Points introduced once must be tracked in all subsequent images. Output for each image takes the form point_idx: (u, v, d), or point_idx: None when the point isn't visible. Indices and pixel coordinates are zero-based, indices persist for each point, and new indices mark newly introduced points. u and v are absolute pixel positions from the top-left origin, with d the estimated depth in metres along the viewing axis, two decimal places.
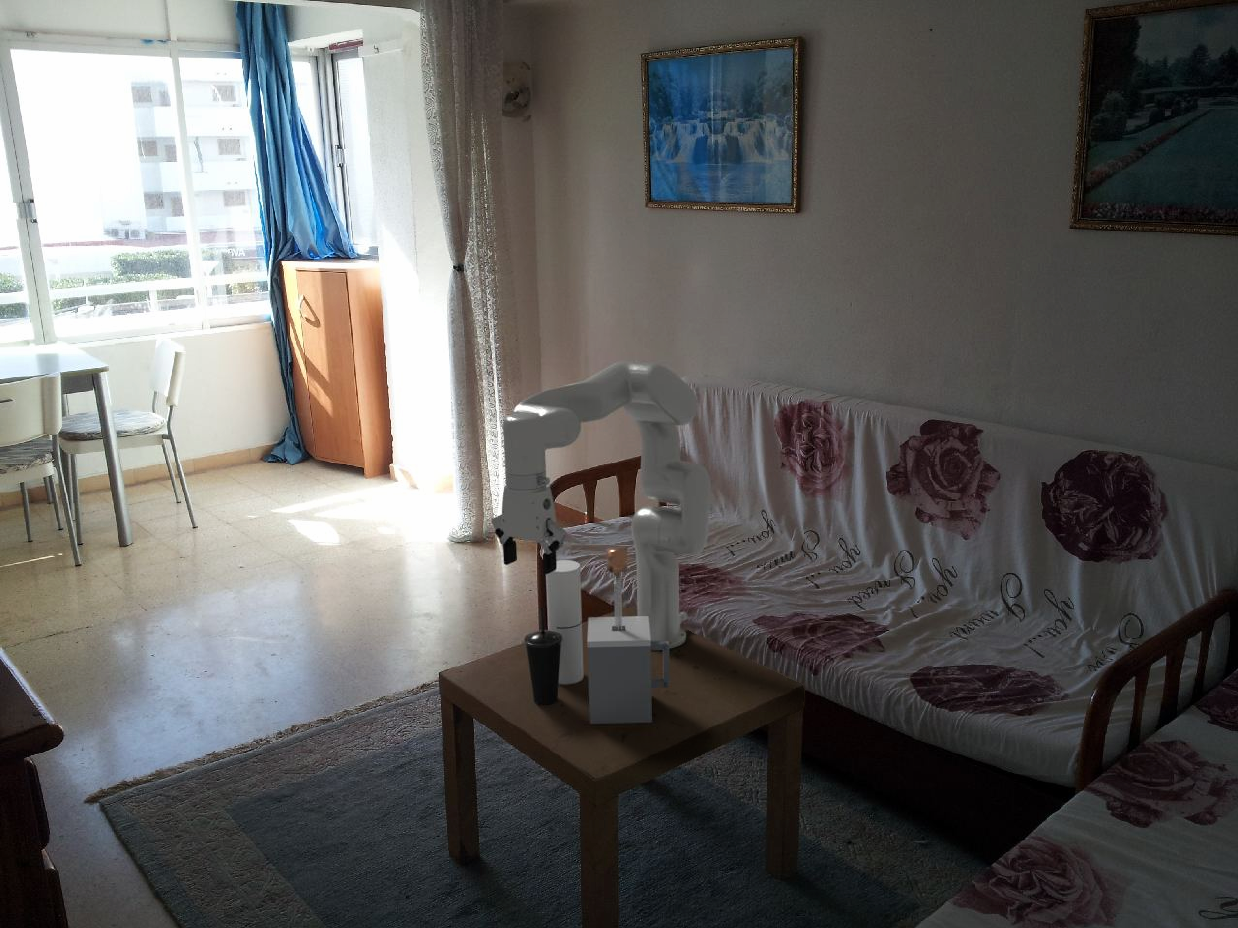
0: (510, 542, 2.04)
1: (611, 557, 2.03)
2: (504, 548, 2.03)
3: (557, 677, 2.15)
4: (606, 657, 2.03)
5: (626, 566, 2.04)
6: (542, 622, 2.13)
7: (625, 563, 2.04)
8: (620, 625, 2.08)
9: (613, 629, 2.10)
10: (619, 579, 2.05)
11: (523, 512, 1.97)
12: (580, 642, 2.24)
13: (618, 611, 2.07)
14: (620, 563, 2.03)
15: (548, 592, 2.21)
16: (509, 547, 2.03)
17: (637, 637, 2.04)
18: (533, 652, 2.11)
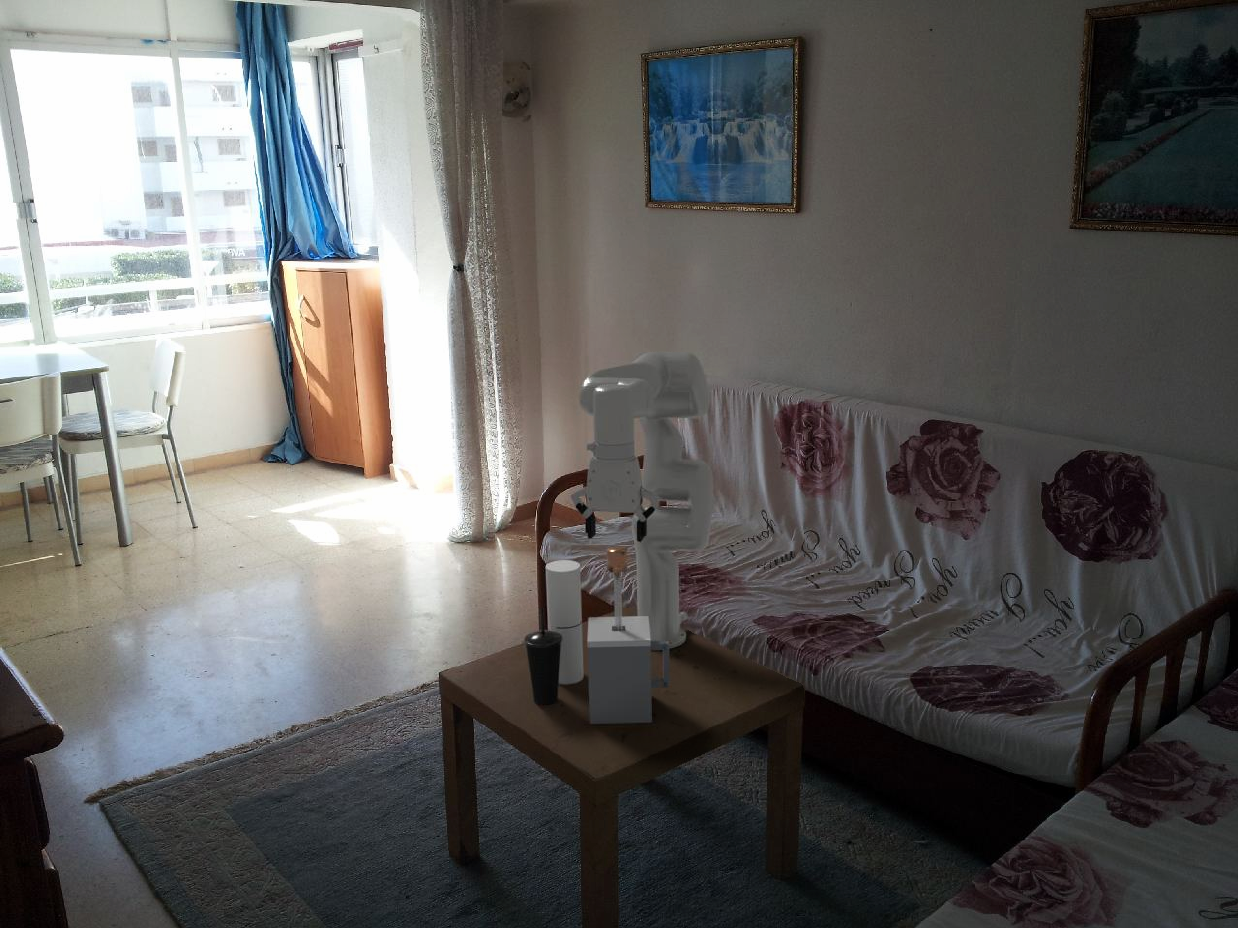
0: None
1: (611, 557, 2.03)
2: None
3: (557, 677, 2.15)
4: (606, 657, 2.03)
5: (626, 566, 2.04)
6: (542, 622, 2.13)
7: (625, 563, 2.04)
8: (620, 625, 2.08)
9: (613, 629, 2.10)
10: (619, 579, 2.05)
11: None
12: (580, 642, 2.24)
13: (618, 611, 2.07)
14: (620, 563, 2.03)
15: (548, 592, 2.21)
16: None
17: (637, 637, 2.04)
18: (533, 652, 2.11)
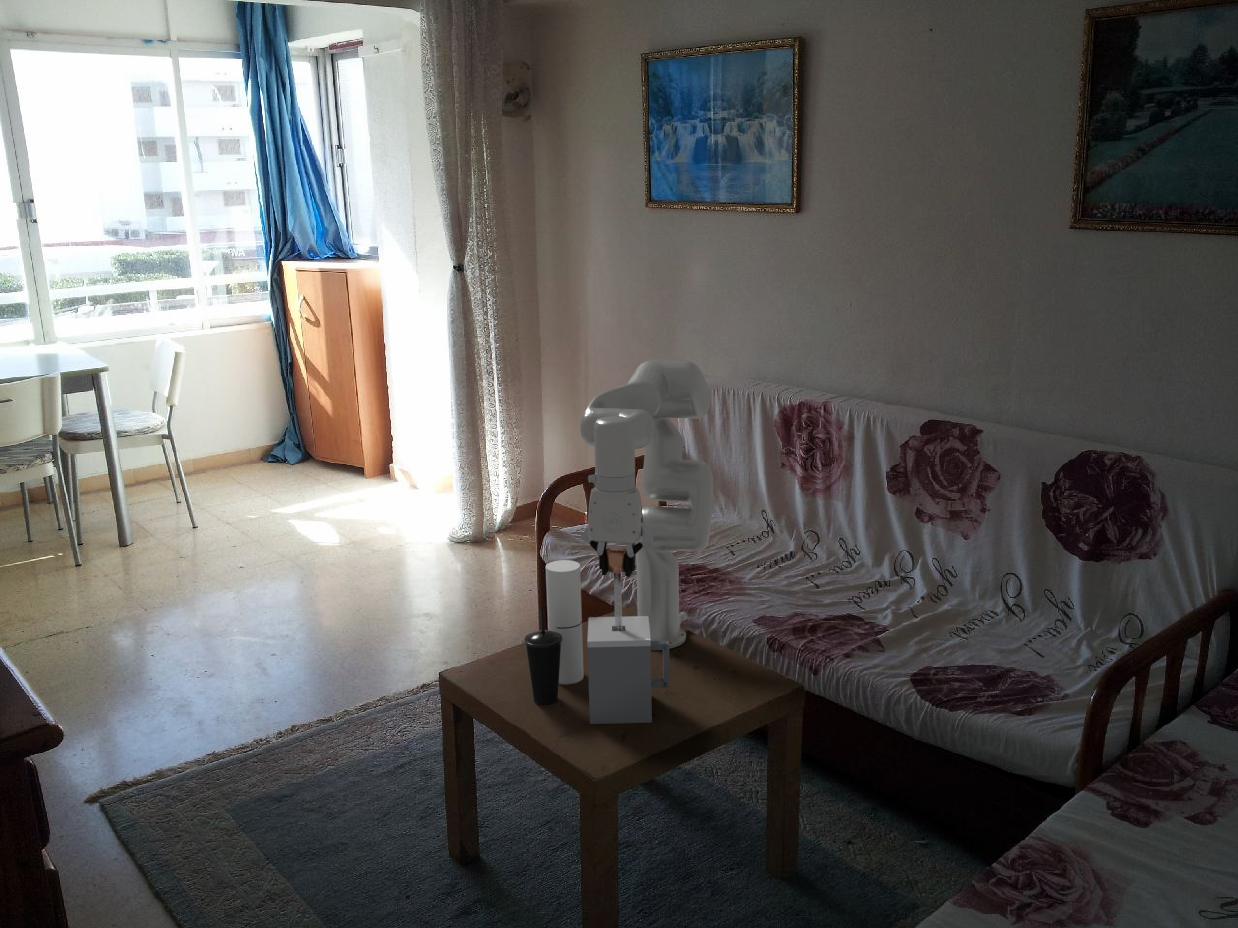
0: None
1: (611, 557, 2.03)
2: None
3: (557, 677, 2.15)
4: (606, 657, 2.03)
5: None
6: (542, 622, 2.13)
7: None
8: (620, 625, 2.08)
9: (613, 629, 2.10)
10: (619, 579, 2.05)
11: None
12: (580, 642, 2.24)
13: (618, 611, 2.07)
14: (620, 564, 2.03)
15: (548, 592, 2.21)
16: None
17: (637, 637, 2.04)
18: (533, 652, 2.11)
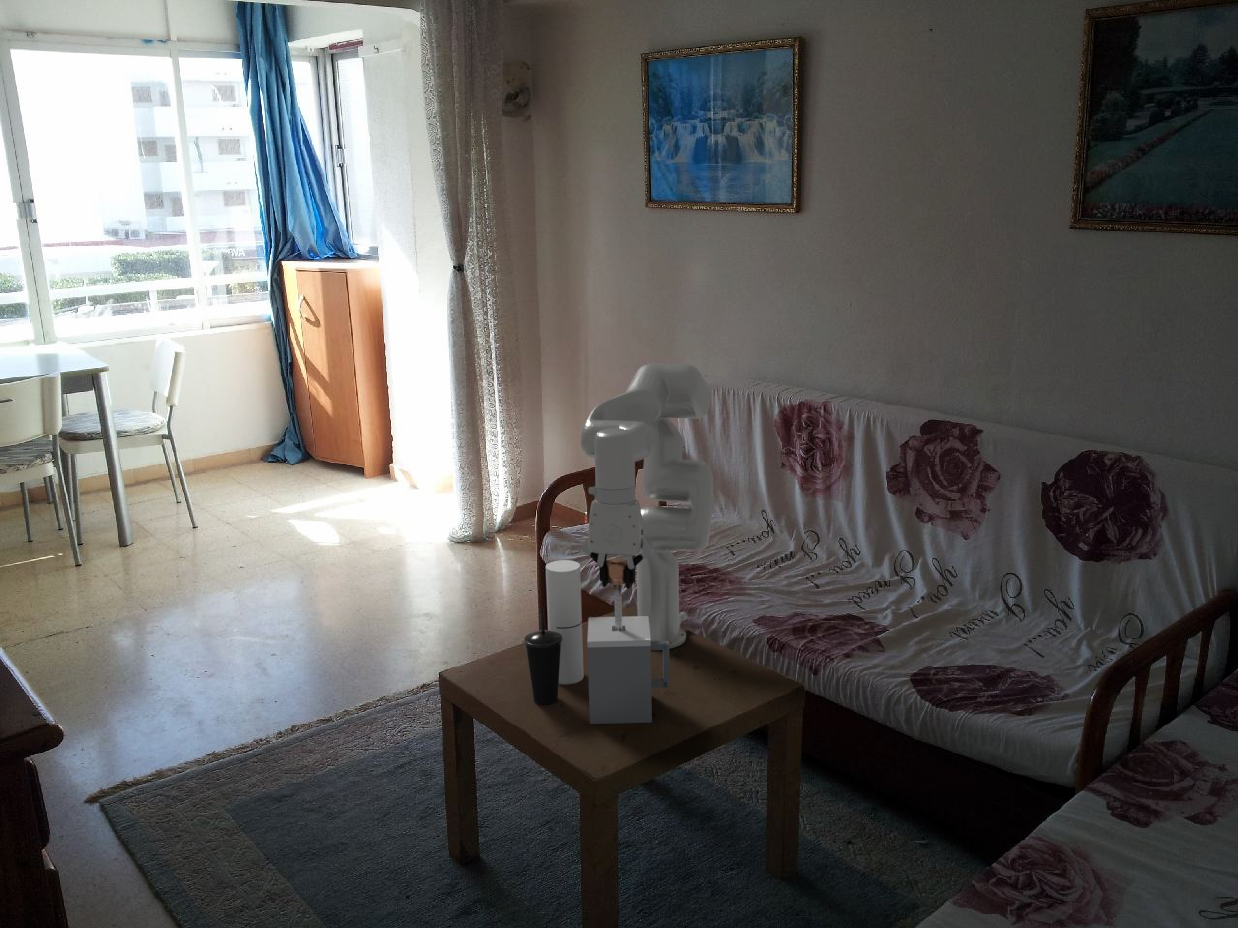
0: None
1: (611, 569, 2.04)
2: None
3: (557, 677, 2.15)
4: (606, 657, 2.03)
5: None
6: (542, 622, 2.13)
7: None
8: None
9: (613, 629, 2.10)
10: (619, 591, 2.06)
11: None
12: (580, 642, 2.24)
13: (619, 623, 2.07)
14: (620, 575, 2.04)
15: (548, 592, 2.21)
16: None
17: (637, 637, 2.04)
18: (533, 652, 2.11)
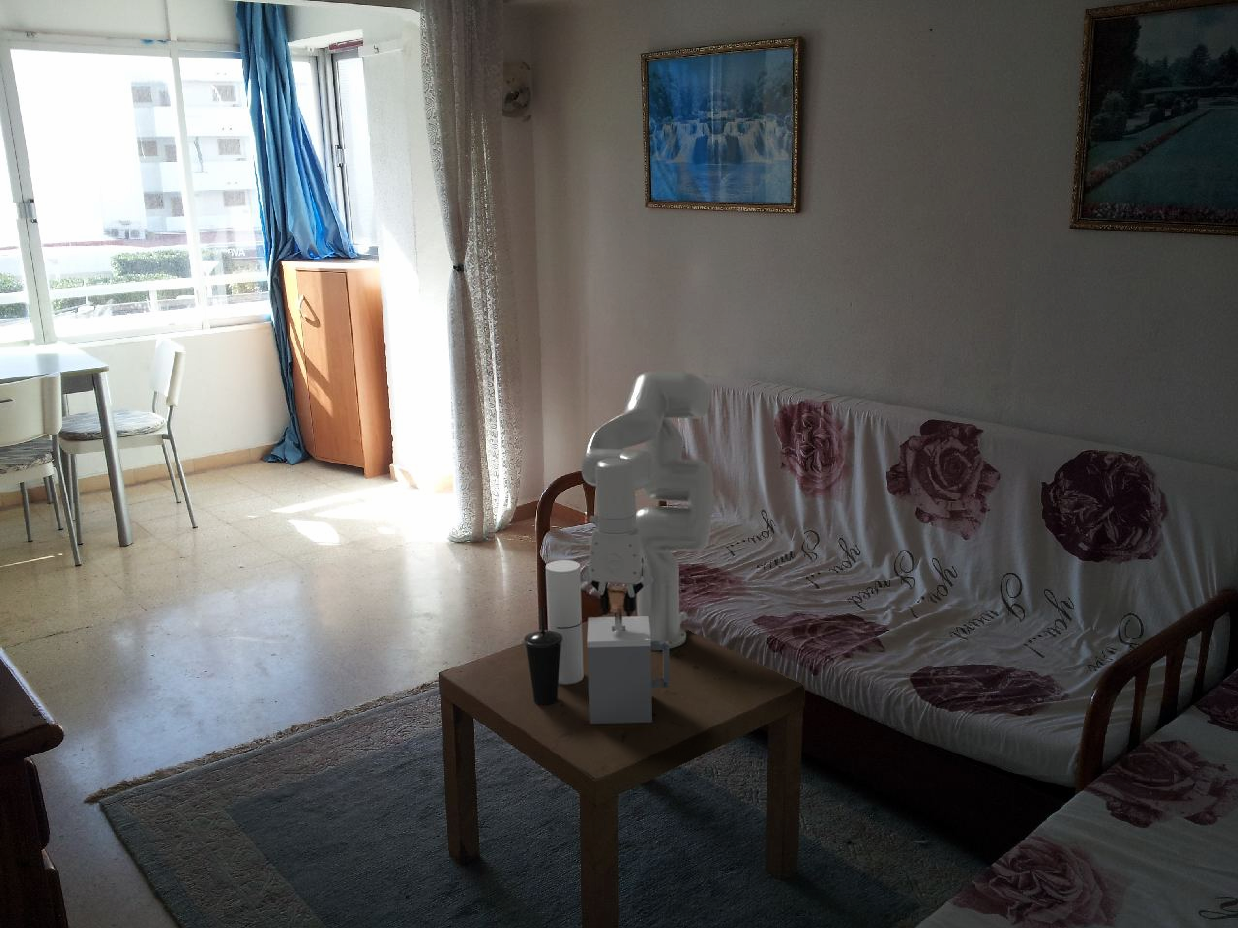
0: None
1: (612, 597, 2.05)
2: None
3: (557, 677, 2.15)
4: (606, 657, 2.03)
5: None
6: (542, 622, 2.13)
7: None
8: None
9: (613, 629, 2.10)
10: (620, 618, 2.07)
11: None
12: (580, 642, 2.24)
13: None
14: (621, 603, 2.05)
15: (548, 592, 2.21)
16: None
17: (637, 637, 2.04)
18: (533, 652, 2.11)
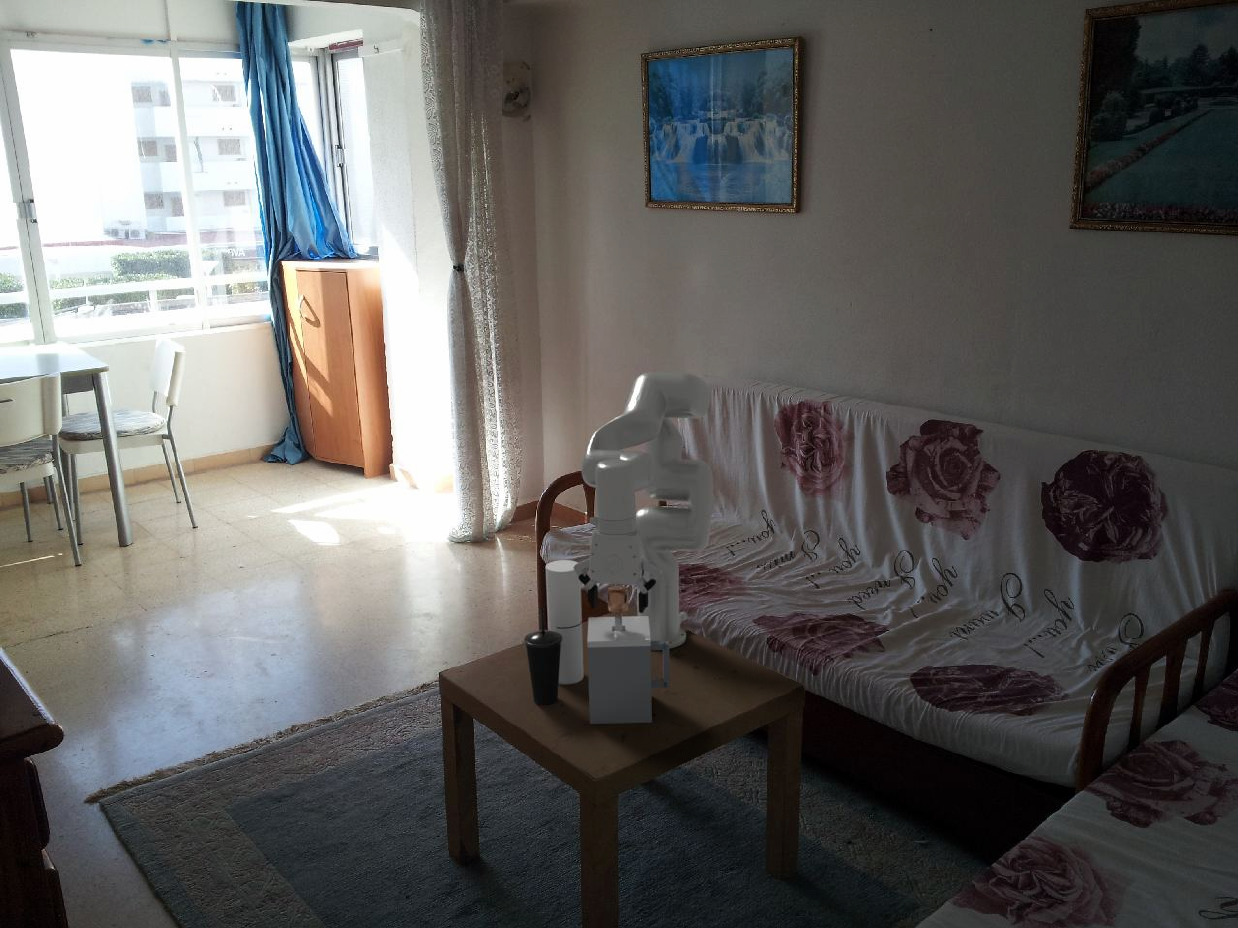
0: None
1: (612, 597, 2.05)
2: None
3: (557, 677, 2.15)
4: (606, 657, 2.03)
5: (627, 606, 2.06)
6: (542, 622, 2.13)
7: (626, 603, 2.06)
8: None
9: (613, 629, 2.10)
10: (620, 618, 2.07)
11: None
12: (580, 642, 2.24)
13: None
14: (621, 603, 2.05)
15: (548, 592, 2.21)
16: None
17: (637, 637, 2.04)
18: (533, 652, 2.11)
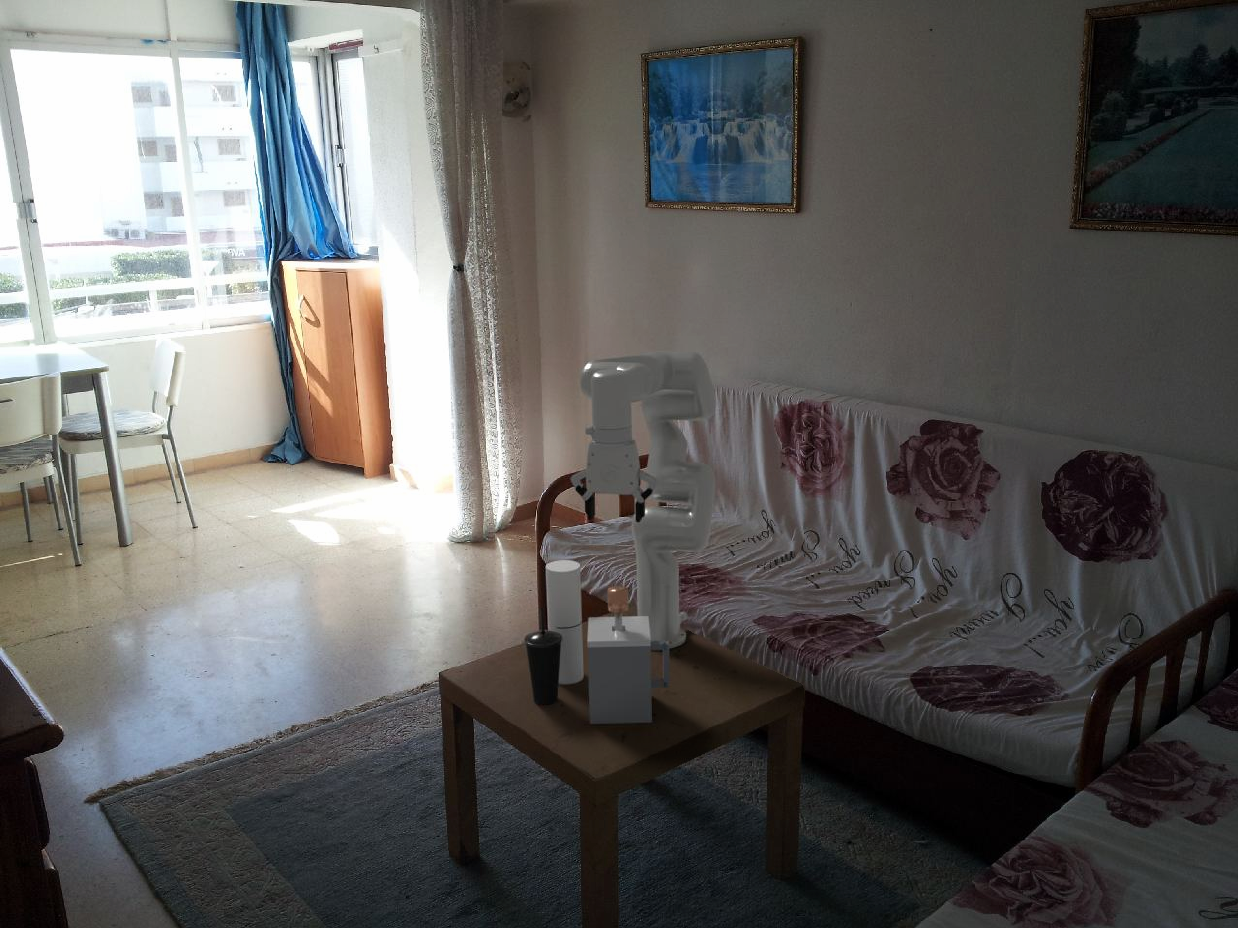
0: None
1: (612, 597, 2.05)
2: None
3: (557, 677, 2.15)
4: (606, 657, 2.03)
5: (627, 606, 2.06)
6: (542, 622, 2.13)
7: (626, 603, 2.06)
8: None
9: (613, 629, 2.10)
10: (620, 618, 2.07)
11: None
12: (580, 642, 2.24)
13: None
14: (621, 603, 2.05)
15: (548, 592, 2.21)
16: None
17: (637, 637, 2.04)
18: (533, 652, 2.11)
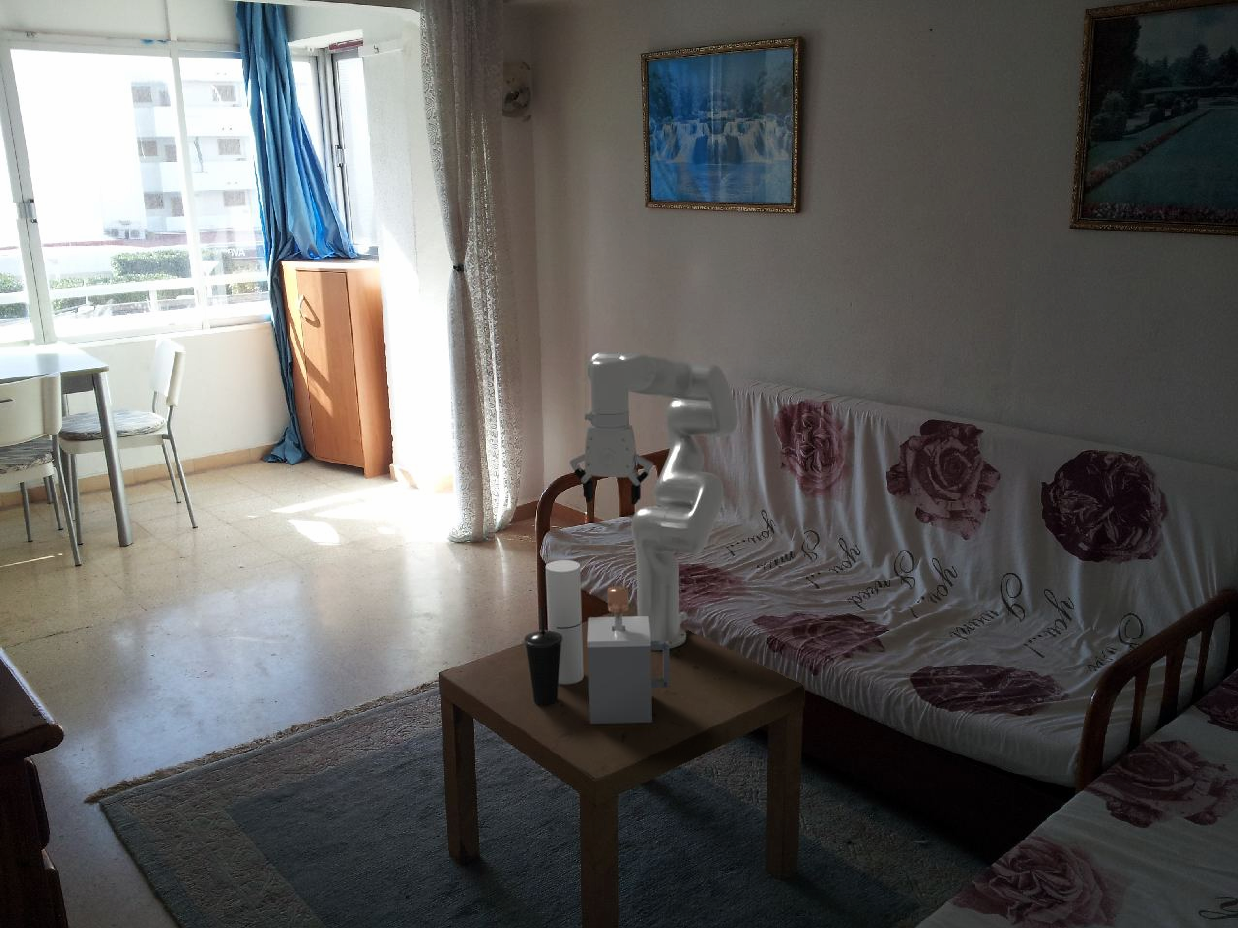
0: None
1: (612, 597, 2.05)
2: None
3: (557, 677, 2.15)
4: (606, 657, 2.03)
5: (627, 606, 2.06)
6: (542, 622, 2.13)
7: (626, 603, 2.06)
8: None
9: (613, 629, 2.10)
10: (620, 618, 2.07)
11: None
12: (580, 642, 2.24)
13: None
14: (621, 603, 2.05)
15: (548, 592, 2.21)
16: None
17: (637, 637, 2.04)
18: (533, 652, 2.11)
